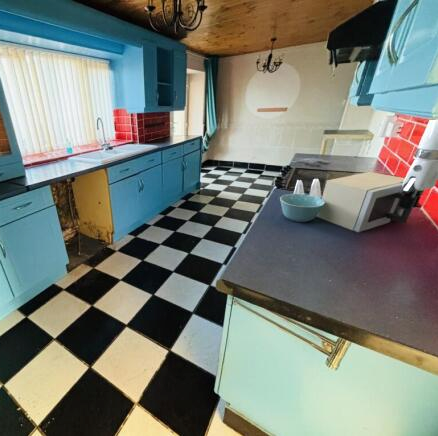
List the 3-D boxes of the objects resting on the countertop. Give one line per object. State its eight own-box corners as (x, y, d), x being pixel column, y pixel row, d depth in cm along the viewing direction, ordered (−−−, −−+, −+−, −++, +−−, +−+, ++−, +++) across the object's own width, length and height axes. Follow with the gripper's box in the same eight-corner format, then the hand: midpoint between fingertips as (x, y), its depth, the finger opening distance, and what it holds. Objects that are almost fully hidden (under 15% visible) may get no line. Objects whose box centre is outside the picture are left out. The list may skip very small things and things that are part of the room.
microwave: (403, 219, 94) (420, 180, 87) (359, 233, 86) (375, 191, 80) (357, 206, 108) (369, 171, 101) (316, 216, 101) (326, 180, 94)
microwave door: (407, 228, 88) (426, 187, 81) (375, 239, 82) (393, 196, 76) (384, 220, 94) (400, 182, 87) (353, 230, 88) (367, 190, 82)
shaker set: (320, 200, 117) (326, 178, 113) (320, 202, 114) (327, 180, 109) (292, 197, 123) (296, 176, 118) (292, 199, 120) (296, 178, 115)
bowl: (274, 221, 99) (277, 202, 95) (279, 208, 111) (282, 191, 107) (319, 229, 91) (325, 209, 87) (319, 214, 102) (324, 196, 99)
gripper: (434, 159, 71) (407, 214, 79) (460, 153, 76) (433, 206, 84) (402, 155, 78) (380, 207, 85) (428, 150, 83) (406, 199, 91)
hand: (407, 206), depth 85 cm, fingers closed
